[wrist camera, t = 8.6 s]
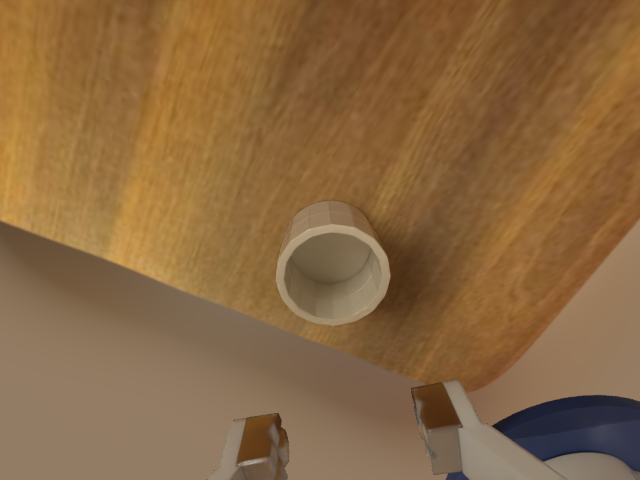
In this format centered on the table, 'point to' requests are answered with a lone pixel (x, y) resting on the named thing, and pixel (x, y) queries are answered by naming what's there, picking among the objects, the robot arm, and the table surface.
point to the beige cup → (332, 264)
